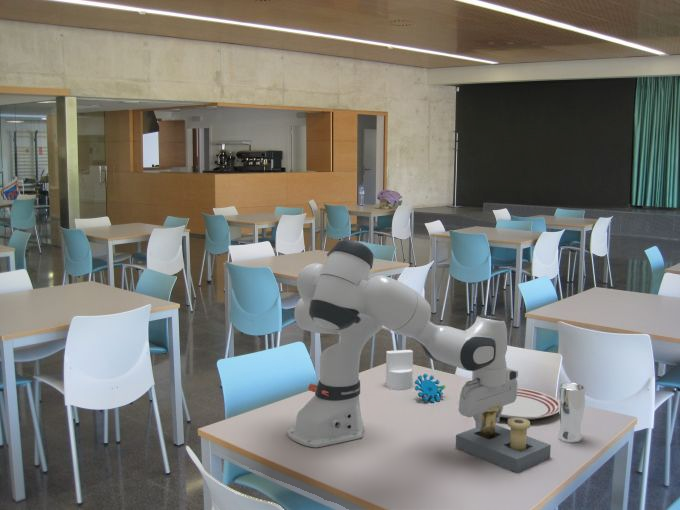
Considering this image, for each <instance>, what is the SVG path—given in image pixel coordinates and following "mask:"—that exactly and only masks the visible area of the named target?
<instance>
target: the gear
mask: <svg viewBox="0 0 680 510" xmlns="http://www.w3.org/2000/svg"><path fill="white" fill-rule="evenodd" d="M428 375H429V374H427V373H423V375H421V374H420V375H418V376H417V379H416V380H414V382H413V383H414V384H415V386H414V391H419V392H418V393H417V396H418V397H419V398H420V397H422V398H423V401H424V402H428V401H429V402H430V403H432V404H434V403H435V401H436V402H439V401H440V400H441V397H442V396H443V395H444V393H443V392H442V391H443V390H444V389H445V388H446V385H445V384H443V385H439V384H440V383H441V382H440V380H439V379H436V380H435V381H433V380H434V379H435V376H434V375H432V374H430V376H429V378H428ZM429 398H431V399H430V400H429Z"/></svg>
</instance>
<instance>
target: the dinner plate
mask: <svg viewBox="0 0 680 510" xmlns="http://www.w3.org/2000/svg"><path fill="white" fill-rule="evenodd" d="M557 413H559V407H558V399H556V398H555V397H553V396H551V395H549V394H546V393H544V392H540V391H536V390H534V389H533V390H532V389H529V388H523V387H517V398H516V400H515V402H513V403H510V404H507V405H505V406H503V410H502V413H501V415H500V418H501V419H502V418H503V419H506V420H508V419H510V418H524V419H527V420H529V421H530V420H531V421H532V420H537V419H543V418H546V417H550V416H553V415H555V414H557Z"/></svg>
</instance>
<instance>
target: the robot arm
mask: <svg viewBox="0 0 680 510" xmlns="http://www.w3.org/2000/svg"><path fill="white" fill-rule="evenodd" d="M326 256H327V258H326V259H325V263H324V264H322V263H319V262H317V263H310V264H308V265H306V266H304V267H303V268H302V269H301V270H300V271H299V273H298V274H297V278H296V286H297V291H298V294H299V296H300V298H299V300H297V302H296V304H295V307H294V313H293V315H294V321H295V322H296V324H297V326H298V328H300V329H301V330H304V331H308V332H311V333H314V334H326V335H327V334H328V335H329V334H330V335H339V336H340V339H339V342H337V343H335V344H332V345H330V346H328V347H327V348H324V350H323V351H322V352H321V354H320V357H319V380H318V382H317V385H315V384H313V383H310V384H308V386H307V388H308V389H307V390H308V391H310V392H312V393H314V396H312V398H310V400H308V402H307V403H305V405H304V406H303V407H302V408H301V409H300V410H299V411H298V412H297V414H296V418H295V426H293V427H290V428H289V429H287V431H286V433H287V436H288V437H289V439H291V440H292V441H294V442H296V443H298V444H300V445H303V446H306V447H309V448H310V447H311V448H320V447H326V446H331V445H335V444H339V443H344V442H348V441H352V440H353V441H354V440H358V439H361V438H363V437H364V436H363V433H364V431H365V425H364V422H363V418H362V411H361V405H360V403H361V402H360V394H361V380H360V379H359V378H360V377H359V376H360V375H359V374H360V373H359V372H360V371H359V370H360V361H361V355H362V351H363V348H364V347H365V345H366V344H367V342H368V341H369V340H370V339H371V338H372V337H373V336H375V335H376V334H377V333H379V332H380V331H381V329H382V328H383V326H384V327H385V328H386V329H388V330H390V331H392V332H394V333H395V334H398V335H400V336H403V337H406V338H409V339H413V340H414V341H416V342H417V343H419V345H420V346H421V348H422V349H423V351H424V353H425V354H426V356H427V357H428V358H429V359H430V360H433V361H435V362H440V363H444V364H446V365H448V366H452V367H454V368H455V367H456V368H458V369H461V370H464V371H469V372H471V373H472V374H471V375H472V376H471V378H472V379H471V380H468V381H466V382H465V384H464V385H463V387H462V388H461V391H460V395H459V401H458V412H459V414H460V415H461V416H464V417H467V418H472V417H473V420H474V422H475V428H478V429H481V428H483V427H484V421H482V420H481V417H482V413H484V412H487V411H488V409H491V408H494V407H496V406H499V411H498V412H496V424H498V423H500V421H501V420H500V418H501V417H500V415H501V413H502V410H503V406H505V405H507V404H510V403H513V402H515V400H516V398H517V388H518V380H517V379H518V377H519V372H518V370H516V369H514V368H510V367H507V361H506V360H507V359H506V353H507V351H508V330H507V324H506V322H505V320H503V319H502V318H501V317H498V316H495V315H494V316H493V315H487V314H479V315H477V316H476V319H475V322H474V323H473V324H472V325H471V326H470V327H468V328H467V329H465V330H463V329H459V328H455V327H452V326H451V325H447V324H444V323H434V322H432V321H431V318H432V308H431V305H430V303H429V302H428V301H427V300H426V298H424V296H423V295H421V294H420V293H419V292H418V291H416V290H415V289H413V288H412V287H410V286H408V285H407V284H405V283H403V282H402V281H399V280H397V279H395V278H393V277H390V276H387V275H381V274H378V275H374V276H371V277H370V278H369V275H370V272H371V270H372V268H373V265H374V253H373V252H372V250H371V249H370V248H369V247H368V246H367V245H365V244H364V243H362V242H360V241H358V240H354V239H349V238H348V239H342V240H339V241H337V242H336V243H335V244H334V245H333V247H332V248H331V250H330V251H328V252H327V253H326Z"/></svg>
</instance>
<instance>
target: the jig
mask: <svg viewBox="0 0 680 510" xmlns="http://www.w3.org/2000/svg"><path fill="white" fill-rule="evenodd" d="M507 426H508V427H509V429H508V428H506V427H503V426H500V425H497V424H496V425H495V437H494V438H492V439H486V438H484V437H481V436H480V429H478V428H476V427H474V428H470V429H467V430H465V431H463V432H459V433H457V434H455V448H456V449H459V450H461V451H464V452H465V453H469V454H471V455H473V456H476V457H478V458H480V459H483V460H486V461H488V462H490V463H492V464H495V465H497V466H499V467H502V468H504V469H507V470H510V471H512V472H514V473H516V474H517V473H519V472H522V471H523V470H524V471H525V470H526V469H528V468H530V467H533V466H535V465H537V464H539V463H542V462H544V461H546V460H548V459H550V458H551V447H552V446H551V444H550V443H546V442H544V441H541V440H540V439H535V438H533V437H532V436H531V437H530V436H528V435H527V434H528V433H527V431H528V429H530V427H531V421H530V420H527V419H524V418H510V419H507Z"/></svg>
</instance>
